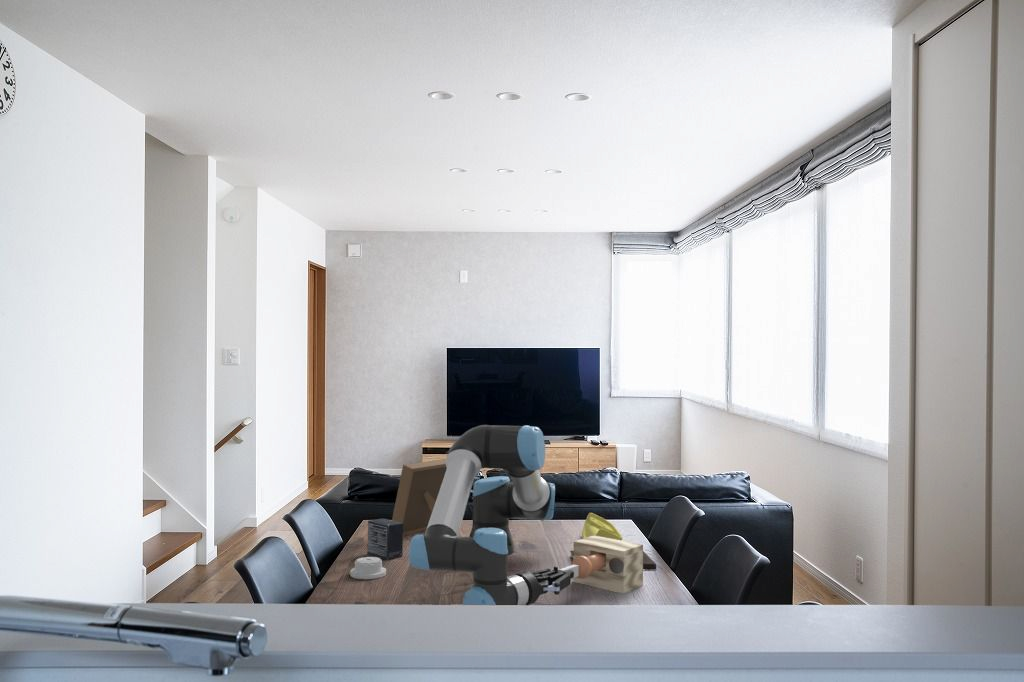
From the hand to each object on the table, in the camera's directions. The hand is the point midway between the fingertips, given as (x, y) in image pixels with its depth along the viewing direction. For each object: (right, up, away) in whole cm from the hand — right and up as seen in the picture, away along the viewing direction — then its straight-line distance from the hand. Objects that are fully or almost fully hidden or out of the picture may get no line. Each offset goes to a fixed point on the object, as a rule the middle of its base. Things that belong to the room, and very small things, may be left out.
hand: (576, 570), depth 189 cm
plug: (+5, -3, +6) cm, 8 cm away
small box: (-56, -8, +39) cm, 69 cm away
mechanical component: (-57, -7, +18) cm, 60 cm away
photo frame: (-47, -9, +70) cm, 85 cm away
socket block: (+10, -7, +12) cm, 17 cm away
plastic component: (+14, -10, +63) cm, 65 cm away
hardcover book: (+14, -9, +33) cm, 37 cm away
